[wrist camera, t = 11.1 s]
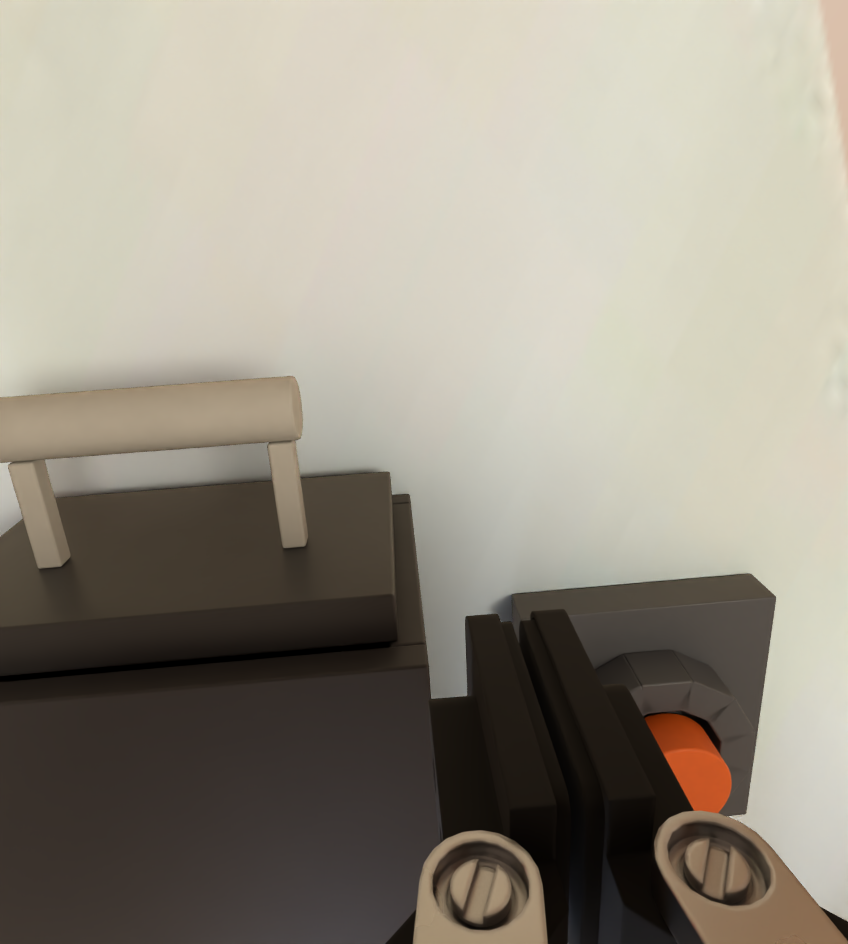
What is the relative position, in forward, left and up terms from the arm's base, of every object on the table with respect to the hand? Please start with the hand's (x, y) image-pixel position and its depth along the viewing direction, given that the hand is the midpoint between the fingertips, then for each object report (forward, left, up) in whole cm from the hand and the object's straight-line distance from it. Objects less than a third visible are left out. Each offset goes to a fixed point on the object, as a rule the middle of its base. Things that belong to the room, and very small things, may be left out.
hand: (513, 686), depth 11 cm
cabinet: (+7, +8, -12) cm, 16 cm away
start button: (-7, +10, -9) cm, 15 cm away
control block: (-7, +10, -12) cm, 17 cm away
